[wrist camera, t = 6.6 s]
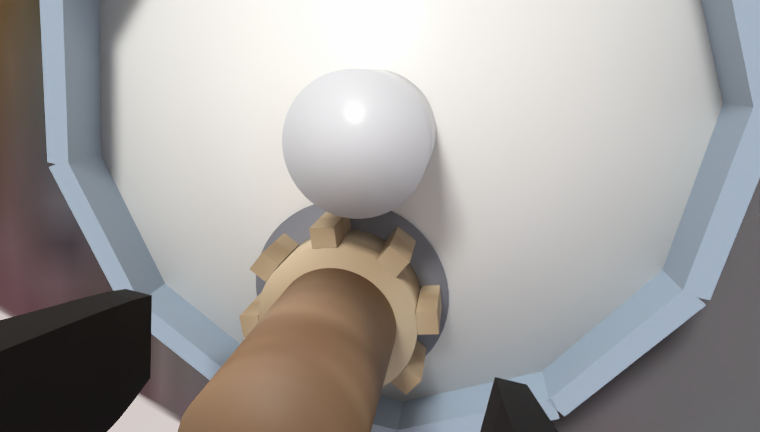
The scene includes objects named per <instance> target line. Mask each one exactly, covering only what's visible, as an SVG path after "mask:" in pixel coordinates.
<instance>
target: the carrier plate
mask: <svg viewBox="0 0 760 432" xmlns="http://www.w3.org/2000/svg"><path fill="white" fill-rule="evenodd" d="M40 18H41V39H42V60H43V81H44V102H45V122H46V143H47V162H49V163H54V164H56V165H53V166H51V167H49V169H50V170H51V172H52V174H53V176H54V178H55V180H56V182H57V184H58V186H59V188H60V190H61V191H62V193H63V195H64V197H65V199H66V201H67V203H68V205H69V207H70V209H71V211H72V212H73V214H74V216H75V218H76V220H77V222H78V224H79V226H80V228H81V230H82V232H83V234H84V235H85V237H86V239H87V241H88V243H89V245H90V247H91V249H92V251H93V253H94V255H95V256H96V258H97V260H98V262H99V264H100V266H101V268H102V270H103V272H104V274H105V276H106V277H107V279H108V281H109V283H110V285H111V287H112V289H113V291H116V290H122V289H128V290H132V291H136V292H141V293H145V294H149V295H152V313H151V334H152V335H154V336H155V337H156V338H157V339H159V340H160V341H161V342H162V343H164V344H165V345H166V346H168V347H169V348H170V349H171V350H173V351H174V352H175V353H176V354H178V355H179V356H180V357H181V358H183V359H184V360H185V361H186V362H188V363H189V364H190V365H191V366H193V367H194V368H195V369H196V370H198V371H199V372H200V373H201V374H203V375H204V376H205V377H206V378H208V379H209V380H211V379H212V378H213V376H214V375H215V374H216V373H217V372H218V370H219V369H220V368H221V367H222V366H223V364H224V363H225V362H226V361H227V359H228V358H229V357H230V356H231V355H232V353H233V352H234V351H235V350H236V349H237V347H238V346H239V345H240V344H241V343H242V341H243V340H244V339H245V338H246V337H243V332H242V327H241V322H240V318H239V316H240V315H241V314H242V313H243V311H244V310H245V309H246V308H247V307H248V306H249V305H250V304H251V303H252V302H253V301H254V300H255V299H256V297H257V296H258V295H259V294H260V293H261V292H262V291H263V288H264V286H265V284H266V282H267V281H266V282H265V281H264V280H262V279H261V278H260V277H259V276H257V275H256V274H255V273H254V272H252V271H251V270H250V268H251V266H252V265H253V264H254V263H255V261H256V260H257V259H258V257H259V256H260V255H261V253H262V252H263V251H264V250H266V249H267V248H268V247H269V246H270V245H271V244H272V243H273V242H275V241H276V240H277V239H278V238H279V237H280V236H281V235H282V234H284V233H285V234H286V235H288V236H289V237H290V238H291V239H293V240H294V241H295V242H296V243H298V244H299V245H300V244H302V243H303V242H304V241H305V240H307V239H309V238H310V231H309V228H310V227H311V226H312V225H313V224H314V223H315V222H316V221H317V220H318V219H319V218H320V217H321V216H322V215H323V214H324V213H325V212H329V213H331V214H334V215H337V216H340V217H344V218H350V225H351V229H354V230H360V231H364V232H368V233H371V234H373V235H376V236H378V237H380V238H382V239H384V240H385V241H386V240H387V238H388V237H389V236H390V235H391V234H392V233H393V232H394V230H395V229H396V228H397V227H398V226H399V227H400V228H401V229H402V230H403V231H405V232H406V233H407V234H408V235H409V236H411V237H412V238H413V239H414V240H416V243H415V246H414V250H413V253H412V256H411V260H410V262H409V263H410V264H411V266H412V268H413V269H414V271H415V273H416V275H417V278H418V280H419V284H420V287H421V286H428V285H440V290H441V302H442V309H441V319H440V328H439V334H425V335H418V334H417V341H418V342H420V343H421V344H422V345H423V346H425V347H426V354H425V361H424V368H423V375H422V381H420V382H419V383H418V384H417V385H416V386H415V387H414V388H413V389H412V390H411V391H410V392H409V393H408V394H407V395H406V394H404V393H403V392H402V391H401V390H399V389H398V388H397V387H396V386H394V385H393V384H392V383H391V382H390V383H388V384H386V385H385V386H383V388H382V391H381V395H380V399H379V403H378V407H377V410H376V414H375V418H374V422H373V425H372V429H371V432H480V430H481V427H482V423H483V419H484V416H485V412H486V408H487V404H488V401H489V397H490V393H491V390H492V386H493V382H494V379H495V377H497V378H501V379H506V380H510V381H514V382H518V383H522V384H527V385H528V387H529V388H530V390H531V391H532V393H533V394H534V396H535V398H536V399H537V401H538V402H539V404H540V405H541V407H542V408H543V410H544V411H545V413H546V414H547V416H548V418H549V419H550V421H551V420H556V419H560V418H559V415H558V411H559V412H560V413H561V414H562V415H563V416H566V415H567V414H569V413H570V412H571V411H572V410H574V409H575V408H576V407H577V406H579V405H580V404H581V403H583V402H584V401H585V400H586V399H588V398H589V397H590V396H591V395H593V394H594V393H595V392H596V391H598V390H599V389H600V388H602V387H603V386H604V385H605V384H607V383H608V382H609V381H610V380H612V379H613V378H614V377H616V376H617V375H618V374H619V373H621V372H622V371H623V370H624V369H626V368H627V367H628V366H629V365H631V364H632V363H633V362H635V361H636V360H637V359H638V358H640V357H641V356H642V355H643V354H645V353H646V352H647V351H649V350H650V349H651V348H652V347H654V346H655V345H656V344H657V343H659V342H660V341H661V340H662V339H664V338H665V337H666V336H668V335H669V334H670V333H671V332H673V331H674V330H675V329H676V328H678V327H679V326H680V325H682V324H683V323H684V322H685V321H687V320H688V319H689V318H690V317H692V316H693V315H694V314H695V313H697V312H698V311H699V310H701V309H702V308H703V307H704V306H706V305H705V304H704V303H703V302H702V301H701V300H700V299H699V298H702V299H707V300H710V299H711V296H712V294H713V291H714V289H715V287H716V284H717V282H718V279H719V277H720V274H721V272H722V269H723V267H724V264H725V262H726V259H727V257H728V254H729V252H730V250H731V247H732V245H733V242H734V240H735V237H736V235H737V232H738V230H739V227H740V225H741V222H742V220H743V217H744V215H745V213H746V210H747V208H748V205H749V203H750V200H751V198H752V195H753V193H754V190H755V188H756V185H757V183H758V180H759V178H760V0H40ZM299 245H298V246H299ZM298 246H297V247H298ZM297 247H296V248H297Z"/></svg>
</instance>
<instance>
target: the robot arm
mask: <svg viewBox="0 0 760 432" xmlns="http://www.w3.org/2000/svg"><path fill="white" fill-rule="evenodd" d="M151 313H152V295H149V294H145V293H141V292H136V291H132V290H128V289H122V290H116V291H111V292H106V293H102V294H97V295H93V296H89V297H86V298H82V299H78V300H74V301H70V302H67V303H63V304H59V305H56V306H52V307H48V308H45V309H41V310H37V311H34V312H30V313H26V314H23V315H19V316H15V317H12V318H8V319H4V320H0V432H107V431H108V430H109V429H110V428H111V427H112V426H113V425H114V424H115V423H116V421H117V420H118V419H119V418H120V417H121V416H122V414H123V413H124V412H125V411H126V409H127V408H128V407H129V405H130V404H131V403H132V401H133V400H134V399H135V398H136V396H137V395H138V394H139V392H140V391H141V390H142V388H143V387H144V385H145V384H146V383H147V381H148V380H149V379H150V361H151ZM480 432H558V431H557V430H556V428H555V427H554V425H553V424H552V422H551V421H550V419H549V418H548V416H547V414H546V413H545V411H544V410H543V408H542V407H541V405H540V404H539V402H538V401H537V399H536V398H535V396H534V394H533V393H532V391H531V390H530V388H529V387H528V385H527V384H522V383H518V382H514V381H510V380H506V379H501V378H497V377H495V379H494V382H493V386H492V390H491V393H490V397H489V401H488V404H487V408H486V412H485V416H484V419H483V423H482V427H481V430H480Z"/></svg>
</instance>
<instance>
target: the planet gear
mask: <svg viewBox="0 0 760 432" xmlns="http://www.w3.org/2000/svg"><path fill="white" fill-rule="evenodd" d="M309 231H310V238H309V239H307V240H305V241H304V242H303V243H302V244H300V245H299V244H298V243H296V242H295V241H294V240H293V239H291V238H290V237H289V236H288V235H286V234H285V233H284V234H282V235H281V236H280V237H279V238H278V239H277V240H276V241H275V242H273V243H272V244H271V245H270V246H269V247H268V248H267V249H266V250H264V251H263V252H262V253H261V255H260V256H259V257H258V259H257V260H256V261H255V263H254V264H253V265H252V266H251V268H250V270H251V271H252V272H254V273H255V274H256V275H257V276H259V277H260V278H261V279H262V280H264V281H265V282H266V281H267V282H266V284H265V286H264V288H263V291H262V292H261V293H260V294H259V295H258V296H257V297H256V299H255V300H254V301H253V302H252V303H251V304H250V305H249V306H248V307H247V308H246V309H245V310H244V311H243V313H242V314H241V315H240V316H239V318H240V322H241V327H242V332H243V337H246V338H245V339H244V340H243V341H242V343H241V344H240V345H239V346H238V347H237V349H236V350H235V351H234V352H233V353H232V355H231V356H230V357H229V358H228V359H227V361H226V362H225V363H224V364H223V366H222V367H221V368H220V369H219V370H218V372H217V373H216V374H215V375H214V376H213V378H212V379H211V380H210V381H209V382H208V384H207V385H206V386H205V387H204V388H203V390H202V391H201V392H200V393H199V394H198V396H197V397H196V398H195V399H194V400H193V402H192V403H191V404H190V405H189V407H188V408H187V410H186V411H185V413H184V415H183V417H182V419H181V422H180V426H179V429H178V432H371V429H372V425H373V422H374V418H375V414H376V410H377V407H378V403H379V399H380V395H381V391H382V388H383V386H385V385H386V384H388V383H390V382H391V383H392V384H393V385H394V386H396V387H397V388H398V389H399V390H401V391H402V392H403V393H404V394H406V395H407V394H408V393H409V392H410V391H411V390H412V389H413V388H414V387H415V386H416V385H417V384H418V383H419V382H420V381H422V375H423V368H424V361H425V354H426V347H425V346H423V345H422V344H421V343H420V342H418V341H417V334H418V335H425V334H439V328H440V319H441V309H442V302H441V290H440V285H428V286H421V287H420V284H419V280H418V278H417V275H416V273H415V271H414V269H413V268H412V266H411V264H410V263H409V262H410V260H411V256H412V253H413V250H414V246H415V243H416V240H414V239H413V238H412V237H411V236H409V235H408V234H407V233H406V232H405V231H403V230H402V229H401V228H400V227H399V226H398V227H397V228H396V229H395V230H394V232H393V233H392V234H391V235H390V236H389V237H388V238H387V240H386V241H385V240H384V239H382V238H380V237H378V236H376V235H373V234H371V233H368V232H364V231H360V230H354V229H351V225H350V218H344V217H340V216H337V215H334V214H331V213H329V212H325V213H324V214H323V215H322V216H321V217H320V218H319V219H318V220H317V221H316V222H315V223H314V224H313V225H312V226H311V227H310V228H309ZM298 245H299V246H298ZM297 246H298V247H297ZM296 247H297V248H296Z"/></svg>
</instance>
